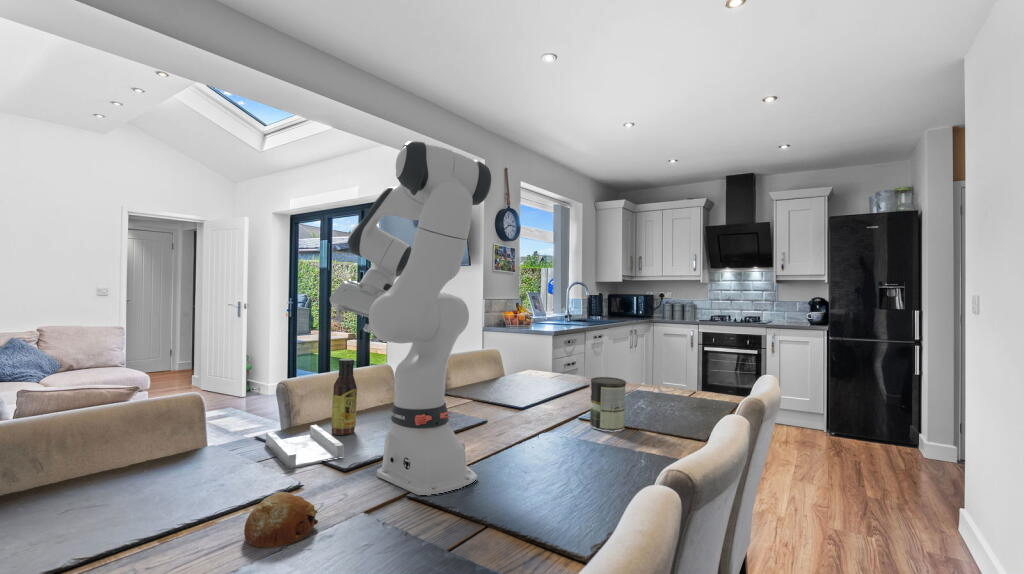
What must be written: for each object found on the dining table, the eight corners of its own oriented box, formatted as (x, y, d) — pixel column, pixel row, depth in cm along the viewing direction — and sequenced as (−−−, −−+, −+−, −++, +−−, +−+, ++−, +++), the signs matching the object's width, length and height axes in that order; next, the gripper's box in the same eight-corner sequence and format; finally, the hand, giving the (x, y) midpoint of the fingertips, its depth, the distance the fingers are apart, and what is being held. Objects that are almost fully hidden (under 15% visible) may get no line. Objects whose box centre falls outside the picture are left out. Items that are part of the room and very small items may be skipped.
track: (343, 457, 110) (343, 444, 110) (288, 469, 102) (288, 455, 102) (315, 435, 125) (316, 424, 125) (265, 444, 118) (266, 432, 118)
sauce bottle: (347, 437, 125) (349, 361, 125) (326, 434, 127) (328, 360, 127) (360, 430, 132) (362, 358, 132) (339, 428, 133) (342, 357, 133)
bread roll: (273, 539, 81) (253, 496, 81) (329, 512, 82) (310, 470, 82) (246, 573, 71) (223, 525, 71) (310, 543, 72) (288, 495, 72)
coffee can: (583, 427, 140) (584, 380, 140) (598, 420, 149) (599, 375, 149) (616, 434, 134) (617, 385, 134) (630, 427, 143) (631, 380, 143)
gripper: (340, 272, 141) (315, 310, 134) (402, 290, 137) (379, 331, 130) (347, 284, 146) (323, 321, 139) (407, 301, 142) (385, 341, 135)
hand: (351, 326), depth 135 cm, fingers open, 8 cm apart
